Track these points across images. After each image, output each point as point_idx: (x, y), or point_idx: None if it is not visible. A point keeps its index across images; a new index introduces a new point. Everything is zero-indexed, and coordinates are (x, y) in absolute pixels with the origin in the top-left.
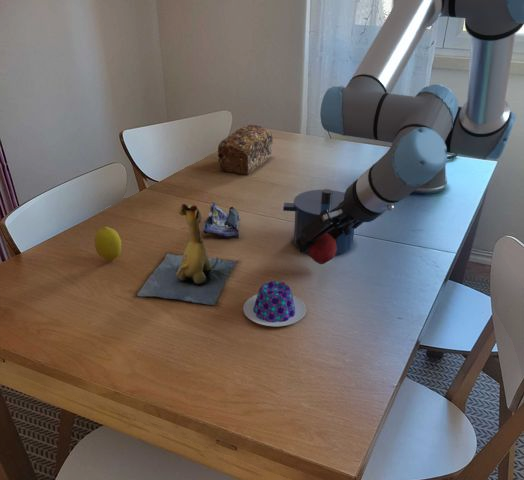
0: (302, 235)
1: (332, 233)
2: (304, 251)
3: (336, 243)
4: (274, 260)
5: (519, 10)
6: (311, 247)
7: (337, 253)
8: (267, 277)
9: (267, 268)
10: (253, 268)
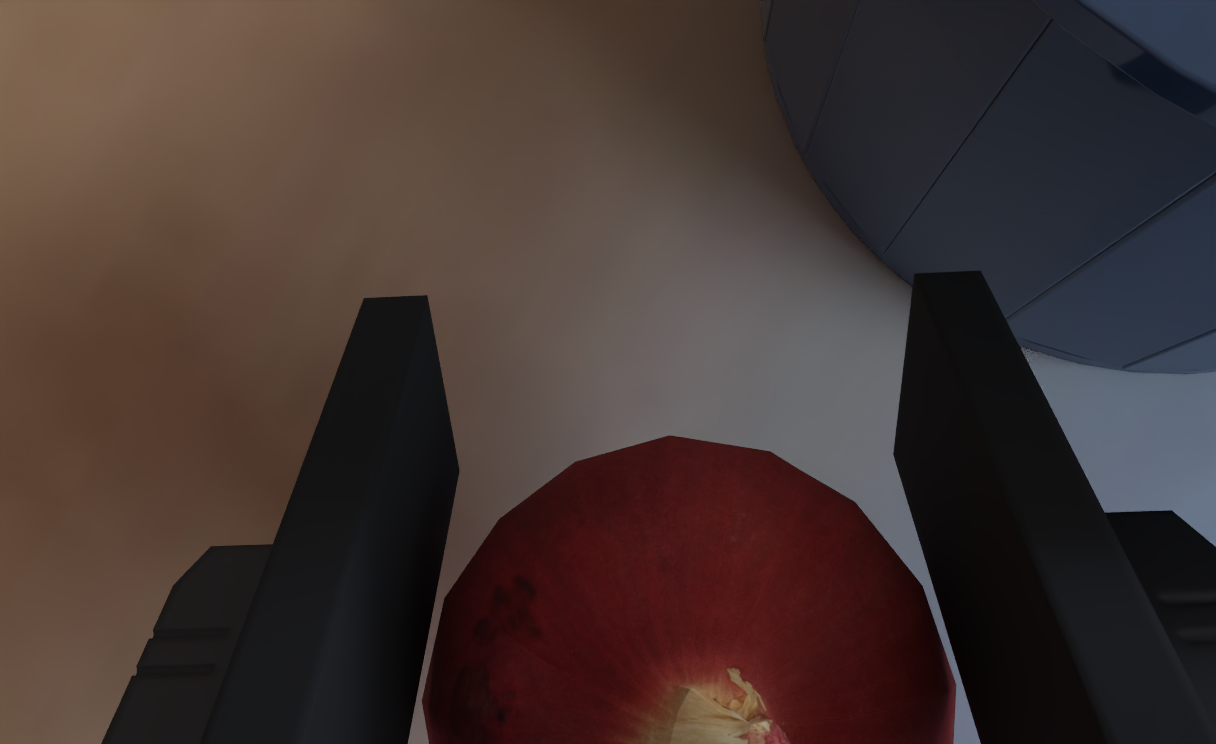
0: (300, 472)
1: (991, 638)
2: (781, 107)
3: (1184, 336)
4: (344, 121)
5: None
6: (425, 697)
7: (1146, 367)
8: (47, 437)
9: (166, 251)
10: (29, 177)
